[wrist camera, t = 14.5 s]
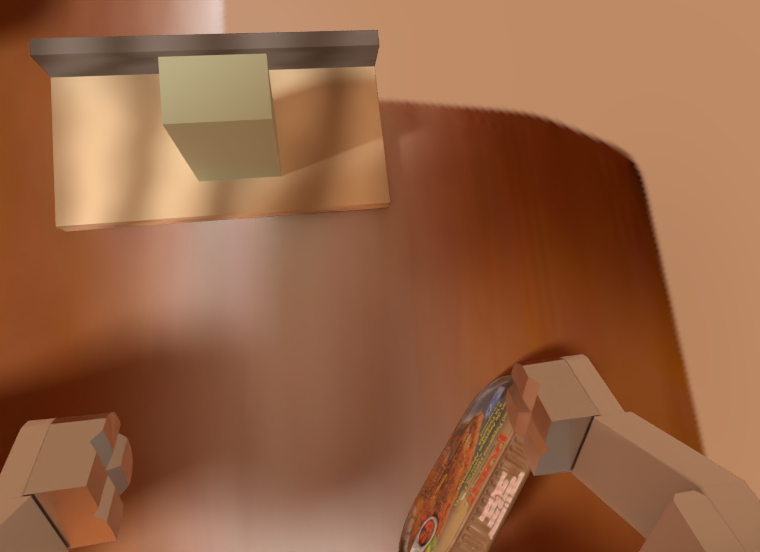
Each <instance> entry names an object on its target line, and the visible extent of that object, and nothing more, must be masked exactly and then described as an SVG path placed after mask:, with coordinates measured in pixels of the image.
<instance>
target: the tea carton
mask: <svg viewBox="0 0 760 552" xmlns="http://www.w3.org/2000/svg"><path fill="white" fill-rule="evenodd" d="M158 63H159V79H160V96H161V112H162V125H163V126H164V128H165V129H166V131H167V132H168V134H169V136H170V137H171V139H172V140H173V142H174V143H175V145H176V147H177V148H178V150H179V151H180V153H181V154H182V156H183V157H184V159H185V161H186V162H187V164H188V165H189V167H190V168H191V170H192V172H193V173H194V175H195V176H196V178H197V179H198V181H199V182H200V181H216V180H231V179H247V178H262V177H278V176H281V168H280V157H279V146H278V135H277V125H276V118H275V111H274V104H273V97H272V90H271V83H270V76H269V69H268V62H267V55H266V54H236V55H204V56H172V57H158Z"/></svg>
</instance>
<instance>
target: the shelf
mask: <svg viewBox="0 0 760 552" xmlns="http://www.w3.org/2000/svg"><path fill="white" fill-rule="evenodd" d="M29 44H30V56H31V57H32V58H33V59H34V60H35V61H36V62H37V63H38V64H39V65H40V66H41V68H42V69H43V70H44V71H45V72H46V73H47V74H48V75H49V76H50V77H51V95H52V126H53V156H54V187H55V217H56V227H58V228H60V229H62V230H64V231H77V230H91V229H104V228H118V227H131V226H145V225H159V224H172V223H186V222H199V221H213V220H226V219H240V218H253V217H267V216H280V215H294V214H307V213H321V212H334V211H348V210H361V209H375V208H388V206H389V204H390V195H389V186H388V178H387V169H386V161H385V152H384V144H383V135H382V126H381V118H380V109H379V101H378V92H377V84H376V75H375V62H376V58H377V53H378V49H379V38H378V30H360V31H359V30H358V31H318V32H317V31H316V32H280V33H279V32H277V33H237V34H195V35H154V36H114V37H73V38H33V39H29ZM236 54H266V55H267V62H268V69H269V76H270V83H271V90H272V97H273V104H274V111H275V118H276V125H277V135H278V146H279V157H280V168H281V176H278V177H262V178H247V179H231V180H216V181H200V182H199V181H198V179H197V178H196V176H195V175H194V173H193V172H192V170H191V168H190V167H189V165H188V164H187V162H186V161H185V159H184V157H183V156H182V154H181V153H180V151H179V150H178V148H177V147H176V145H175V143H174V142H173V140H172V139H171V137H170V136H169V134H168V132H167V131H166V129H165V128H164V126H163V125H162V112H161V96H160V79H159V63H158V57H172V56H204V55H236Z"/></svg>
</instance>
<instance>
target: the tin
mask: <svg viewBox="0 0 760 552" xmlns="http://www.w3.org/2000/svg"><path fill="white" fill-rule="evenodd" d="M513 383H514V380H513V378H512V376H511V375H505V376H502V377H500V378H498V379H496V380H495V381H493V382H491V383H490V384H489V385H488V386H486V387H485V388H484V389H483V390H482V391H481V392H480V393H479V394H478V395H477V396H476V398H475V399H474V400H473V401H472V403H471V404H470V405H469V407H468V409H467V410H466V411H465V413H464V415H463V416H462V418H461V420H460V422H459V423H458V425H457V427H456V429H455V430H454V432H453V434H452V436H451V438H450V439H449V441H448V443H447V445H446V447H445V448H444V450H443V452H442V454H441V455H440V457H439V459H438V461H437V462H436V464H435V466H434V468H433V469H432V471H431V473H430V475H429V476H428V478H427V480H426V482H425V483H424V485H423V487H422V489H421V490H420V492H419V494H418V496H417V498H416V499H415V501H414V503H413V505H412V507H411V509H410V511H409V514H408V517H407V519H406V522H405V525H404V527H403V531H402V534H401V538H400V544H399V551H398V552H489V551H490V549H491V547H492V545H493V543H494V542H495V540H496V538H497V536H498V534H499V532H500V530H501V528H502V526H503V524H504V522H505V521H506V519H507V517H508V515H509V513H510V511H511V509H512V507H513V505H514V503H515V502H516V500H517V498H518V496H519V494H520V492H521V490H522V488H523V486H524V484H525V482H526V480H527V478H528V476H529V474H530V472H531V469H530V467H529V464H528V462H527V460H526V458H525V456H524V453H523V451H522V445H523V442H524V438H522V437H521V436H520V435H518V434H517V433H515V432H514V431H513V429H512V426H511V424H510V422H509V418H508V414H507V409H506V395H507V390H508V388H509V387H510V386H511V385H512V384H513Z"/></svg>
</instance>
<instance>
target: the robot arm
mask: <svg viewBox="0 0 760 552" xmlns="http://www.w3.org/2000/svg"><path fill="white" fill-rule="evenodd" d="M511 376H512V378H513V380H514V383H513V384H512V385H511V386H510V387H509V388H508V390H507V395H506V409H507V414H508V418H509V422H510V424H511V426H512V429H513V431H514V432H515V433H517V434H518V435H520V436H521V437H522V438H524V442H523V445H522V451H523V453H524V456H525V458H526V460H527V462H528V464H529V467H530V469H531V471H532V473H533V475H534V476H538V475H546V474H554V473H562V472H570V471H572V474H573V475H574V476H575V477H576V478H578V479H579V480H580V481H581V482H582V483H583V484H584V485H586V486H587V487H588V488H589V489H590V490H591V491H592V492H593V493H595V494H596V495H597V496H598V497H599V498H600V499H601V500H603V501H604V502H605V503H606V504H607V505H608V506H609V507H611V508H612V509H613V510H614V511H615V512H616V513H617V514H619V515H620V516H621V517H622V518H623V519H624V520H625V521H627V522H628V523H629V524H630V525H631V526H632V527H633V528H635V529H636V530H637V531H638V532H639V533H640V534H641V535H643V536H644V537H645V538H646V541H645V542H644V544H643V546H642V547H641V549H640V550H639V552H760V500H759V498H758V497H757V496H756V495H755V493H754V492H753V491H752V489H751V488H750V487H749V486H748V484H747V483H746V482H745V481H744V480H743V479H741V478H739V477H738V476H736V475H734V474H733V473H731V472H730V471H728V470H726V469H725V468H723V467H721V466H720V465H718V464H716V463H715V462H713V461H711V460H710V459H708V458H707V457H705V456H703V455H702V454H700V453H698V452H697V451H695V450H693V449H692V448H690V447H688V446H687V445H685V444H684V443H682V442H680V441H679V440H677V439H675V438H674V437H672V436H670V435H669V434H667V433H665V432H664V431H662V430H660V429H659V428H657V427H656V426H654V425H652V424H651V423H649V422H647V421H646V420H644V419H642V418H641V417H639V416H637V415H636V414H634V413H633V412H624V410H623V409H622V408H621V406H620V405H619V403H618V402H617V400H616V399H615V397H614V396H613V394H612V393H611V391H610V390H609V388H608V387H607V385H606V384H605V382H604V381H603V380H602V378H601V377H600V375H599V374H598V372H597V371H596V369H595V368H594V366H593V365H592V363H591V362H590V360H589V359H588V357H586V356H585V355H583V354H581V355H573V356H565V357H560V358H559V357H554V358H547V359H539V360H532V361H524V362H517V363H516V364H515V365H514V366H513V369H512V373H511ZM120 424H121V423H120V421H119V419H118V417H117V415H116V413H112V412H110V413H99V414H89V415H79V416H69V417H58V418H51V419H41V420H32V421H27V422H26V423H25V424H24V425H23V427H22V428H21V429H20V431H19V433H18V435H17V437H16V440H15V442H14V444H13V446H12V449H11V451H10V453H9V455H8V458H7V460H6V462H5V464H4V467H3V469H2V471H1V473H0V552H69V550H68V549H71V548H76V547H82V546H87V545H93V544H99V543H104V542H110V541H115V540H117V538H118V534H119V529H120V525H121V520H122V516H123V512H124V507H125V506H124V504H123V502H122V500H121V498H120V495H121V494H122V493H123V492H124V491H125V489H126V488H127V487H128V486H129V485H130V480H131V475H132V457H133V456H132V451H131V446H130V443H129V441H128V438H127V437H125V436H123V435H121V434H119V433H118V432H119V428H120Z"/></svg>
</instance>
